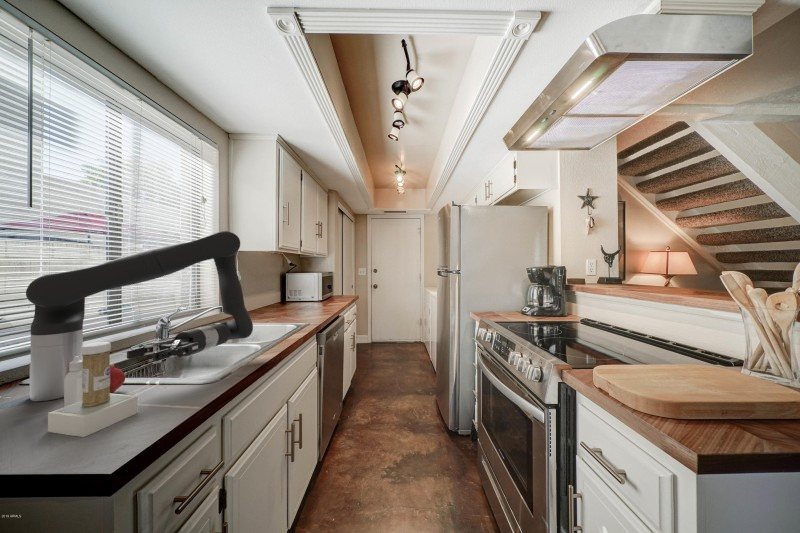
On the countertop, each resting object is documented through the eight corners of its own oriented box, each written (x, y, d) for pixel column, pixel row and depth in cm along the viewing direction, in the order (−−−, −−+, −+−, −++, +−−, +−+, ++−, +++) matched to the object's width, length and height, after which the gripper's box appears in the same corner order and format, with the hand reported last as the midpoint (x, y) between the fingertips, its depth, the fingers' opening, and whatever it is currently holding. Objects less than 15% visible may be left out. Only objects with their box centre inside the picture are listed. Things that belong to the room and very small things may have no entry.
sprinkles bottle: (107, 404, 64) (108, 344, 64) (78, 410, 61) (78, 347, 61) (112, 396, 68) (112, 339, 68) (84, 401, 65) (84, 342, 65)
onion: (105, 399, 75) (105, 369, 75) (89, 397, 77) (89, 367, 77) (130, 390, 81) (130, 362, 81) (114, 388, 82) (114, 360, 82)
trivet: (47, 431, 60) (48, 412, 60) (105, 409, 70) (105, 392, 70) (84, 437, 58) (84, 416, 58) (137, 412, 68) (137, 395, 68)
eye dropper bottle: (96, 398, 76) (96, 353, 76) (71, 408, 70) (71, 360, 70) (81, 398, 76) (81, 353, 76) (54, 408, 71) (54, 359, 71)
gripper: (178, 327, 91) (119, 340, 75) (216, 329, 88) (163, 342, 72) (178, 351, 91) (119, 368, 75) (216, 353, 88) (163, 372, 72)
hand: (140, 356), depth 73 cm, fingers open, 8 cm apart
